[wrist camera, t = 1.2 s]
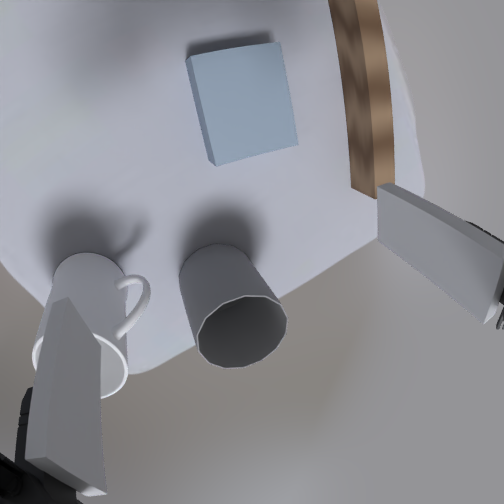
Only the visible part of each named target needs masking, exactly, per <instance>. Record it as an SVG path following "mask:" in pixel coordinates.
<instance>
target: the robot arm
mask: <svg viewBox="0 0 504 504" xmlns="http://www.w3.org/2000/svg"><path fill="white" fill-rule="evenodd" d="M377 209H378V241H379V242H380V243H381V244H383V245H384V246H385V247H387V248H388V249H389V250H391V251H392V252H393V253H395V254H396V255H397V256H399V257H400V258H402V259H403V260H404V261H405V262H407V263H408V264H409V265H411V266H412V267H414V268H415V269H416V270H417V271H419V272H420V273H421V274H422V275H424V276H425V277H426V278H428V279H429V280H430V281H431V282H433V283H434V284H435V285H436V286H438V287H439V288H440V289H441V290H442V291H444V292H445V293H446V294H448V295H449V296H450V297H451V298H452V299H454V300H455V301H456V302H457V303H458V304H460V305H461V306H462V307H463V308H465V309H466V310H467V311H468V312H469V313H470V314H471V315H473V316H474V317H475V318H476V319H477V320H478V321H480V322H481V323H482V324H484V323H486V322H487V321H488V320H489V319H490V318H491V317H492V316H494V315H495V312H496V309H497V306H498V304H499V302H500V303H502V304H503V305H504V241H502V240H500V239H498V238H497V237H495V236H494V235H491V234H490V233H489V232H487V231H485V230H484V231H483V229H482V228H480V227H479V226H477V225H475V224H473V223H471V222H467V221H464V220H462V219H461V218H459V217H457V216H455V215H453V214H452V213H450V212H448V211H446V210H444V209H442V208H440V207H439V206H437V205H435V204H433V203H431V202H429V201H427V200H425V199H423V198H421V197H419V196H417V195H415V194H413V193H411V192H409V191H407V190H405V189H403V188H401V187H399V186H397V185H395V184H393V183H390V182H389V183H386V184H383V185H380V186H377ZM502 321H504V307H503V310H502V312H501V315H500V317H499V320H498V322H497V325H496V329H499V328H500V325H501V323H502ZM502 329H504V325H503V328H502ZM20 415H21V417H19V424H18V425H19V427H18V432H17V441H16V451H15V463H14V462H13V461H11V460H10V459H8V458H7V457H5V456H4V455H3V454H1V453H0V504H83V503H82V502H80V501H79V500H77V499H76V491H78V492H80V493H82V494H84V495H85V496H95V495H105V494H107V486H106V477H105V468H104V457H103V445H102V428H101V345H100V344H99V342H98V341H97V339H96V338H95V337H94V335H93V334H92V332H91V331H90V329H89V328H88V326H87V325H86V323H85V322H84V320H83V319H82V317H81V316H80V314H79V313H78V311H77V310H76V308H75V307H74V305H73V303H72V302H71V300H70V299H69V297H66V298H64V299H61V300H58V301H56V302H53V304H52V307H51V311H50V314H49V318H48V322H47V326H46V329H45V333H44V337H43V342H42V346H41V350H40V355H39V360H38V364H37V369H36V375H35V380H34V386H33V387H31V388H28V389H27V392H26V394H25V396H24V398H23V400H22V404H21V410H20Z"/></svg>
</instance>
